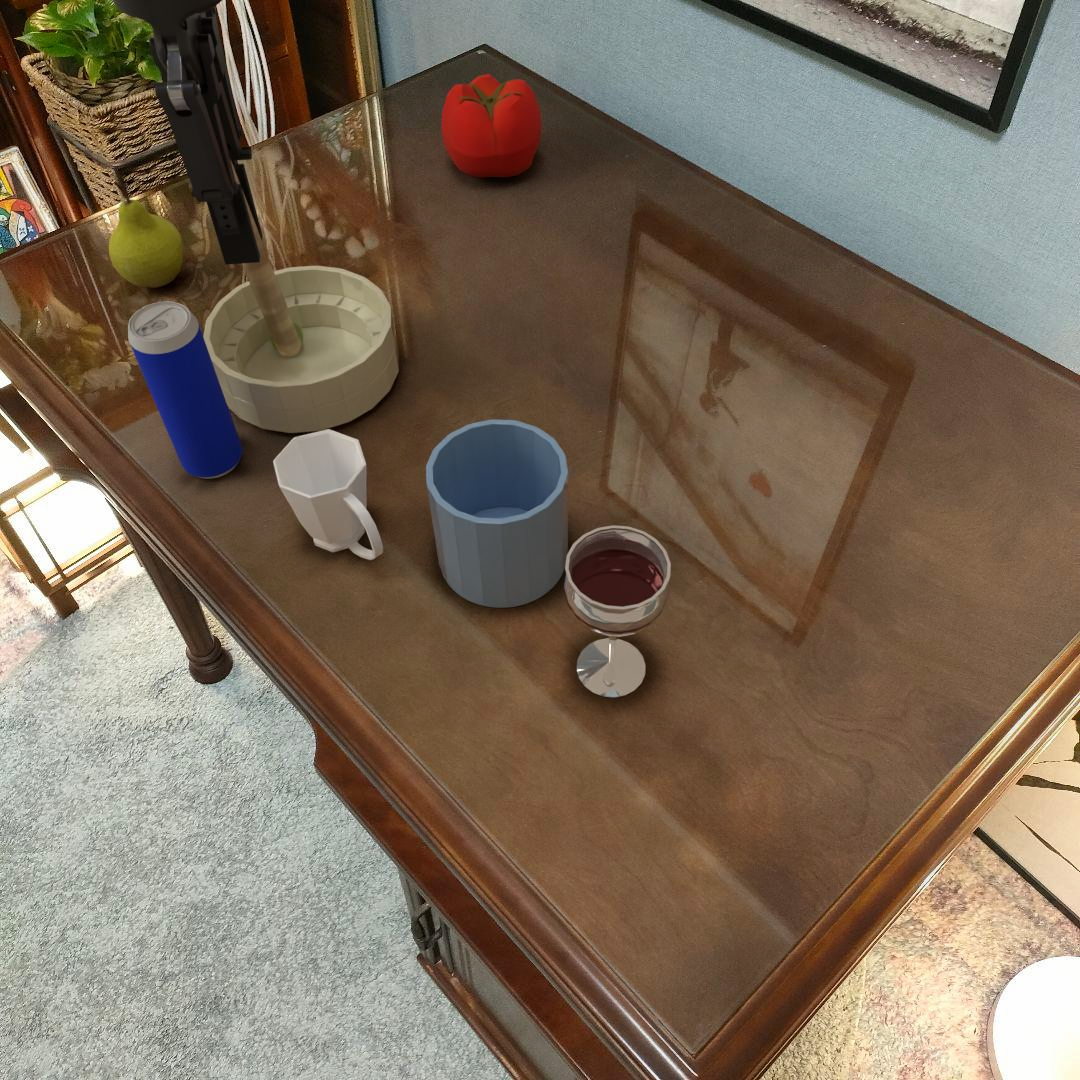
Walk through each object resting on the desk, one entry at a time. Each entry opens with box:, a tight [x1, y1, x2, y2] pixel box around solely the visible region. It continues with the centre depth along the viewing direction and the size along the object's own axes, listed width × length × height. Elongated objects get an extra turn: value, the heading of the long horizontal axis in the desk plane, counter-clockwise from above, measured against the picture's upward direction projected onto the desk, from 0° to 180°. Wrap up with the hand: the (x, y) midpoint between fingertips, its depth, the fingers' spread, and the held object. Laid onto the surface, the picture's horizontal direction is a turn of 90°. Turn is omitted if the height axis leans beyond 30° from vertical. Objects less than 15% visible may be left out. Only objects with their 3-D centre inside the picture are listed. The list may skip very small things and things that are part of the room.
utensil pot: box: [425, 418, 569, 609], centre depth 76 cm, size 10×10×10 cm
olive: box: [270, 322, 303, 350], centre depth 94 cm, size 3×3×3 cm
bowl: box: [202, 265, 400, 434], centre depth 91 cm, size 16×16×6 cm
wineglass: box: [563, 525, 672, 698], centre depth 69 cm, size 7×7×12 cm
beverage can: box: [127, 300, 243, 480], centre depth 81 cm, size 5×5×15 cm
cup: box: [272, 428, 384, 561], centre depth 78 cm, size 7×10×8 cm
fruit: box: [108, 181, 185, 289], centre depth 98 cm, size 7×7×12 cm
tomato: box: [441, 73, 543, 178], centre depth 112 cm, size 11×12×9 cm
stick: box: [230, 160, 301, 357], centre depth 84 cm, size 2×2×20 cm
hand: (244, 249), depth 83 cm, fingers closed on stick, 2 cm apart
